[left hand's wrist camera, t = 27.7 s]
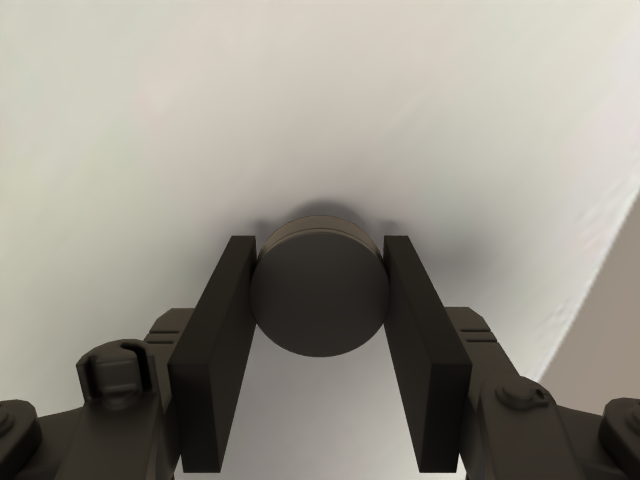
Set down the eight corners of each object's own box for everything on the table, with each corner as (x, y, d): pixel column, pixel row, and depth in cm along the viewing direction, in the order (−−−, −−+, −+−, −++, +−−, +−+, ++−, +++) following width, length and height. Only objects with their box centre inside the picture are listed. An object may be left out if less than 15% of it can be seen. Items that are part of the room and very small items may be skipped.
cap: (398, 311, 15) (406, 337, 14) (281, 344, 16) (277, 372, 14) (363, 197, 14) (368, 212, 12) (235, 237, 14) (226, 257, 13)
